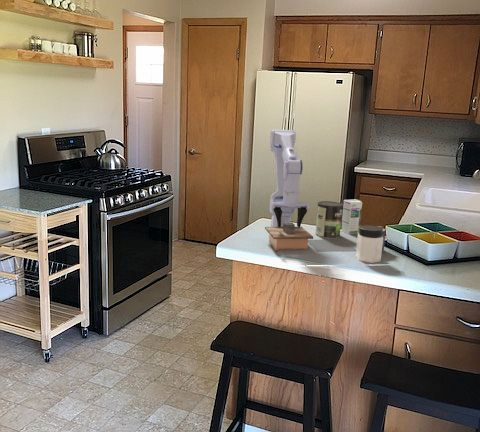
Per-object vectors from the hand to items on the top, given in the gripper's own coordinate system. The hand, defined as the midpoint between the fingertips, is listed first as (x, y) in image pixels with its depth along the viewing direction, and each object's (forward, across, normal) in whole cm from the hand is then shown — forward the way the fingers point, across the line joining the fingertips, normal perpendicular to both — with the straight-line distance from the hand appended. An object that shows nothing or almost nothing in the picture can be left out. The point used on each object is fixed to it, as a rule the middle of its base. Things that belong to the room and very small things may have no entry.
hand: (288, 226), depth 193 cm
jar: (+8, +25, -18) cm, 32 cm away
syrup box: (+8, +33, +19) cm, 39 cm away
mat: (+8, +17, -1) cm, 19 cm away
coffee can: (+8, +21, +14) cm, 26 cm away
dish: (+8, 0, 0) cm, 8 cm away
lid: (+3, 0, 0) cm, 3 cm away
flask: (+8, +32, -10) cm, 34 cm away
